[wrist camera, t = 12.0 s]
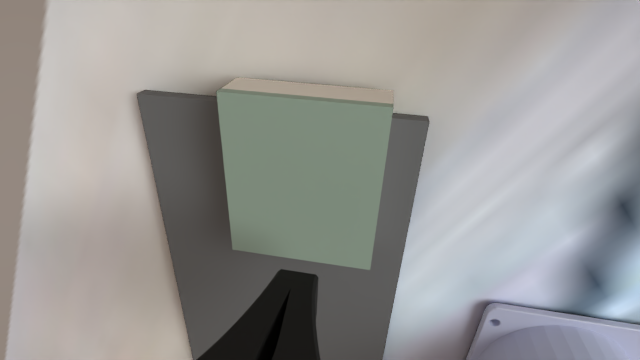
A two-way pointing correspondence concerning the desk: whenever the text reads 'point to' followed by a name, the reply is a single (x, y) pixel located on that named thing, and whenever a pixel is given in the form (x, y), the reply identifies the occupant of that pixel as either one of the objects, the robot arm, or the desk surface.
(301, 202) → the tile
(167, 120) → the mat
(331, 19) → the desk surface
